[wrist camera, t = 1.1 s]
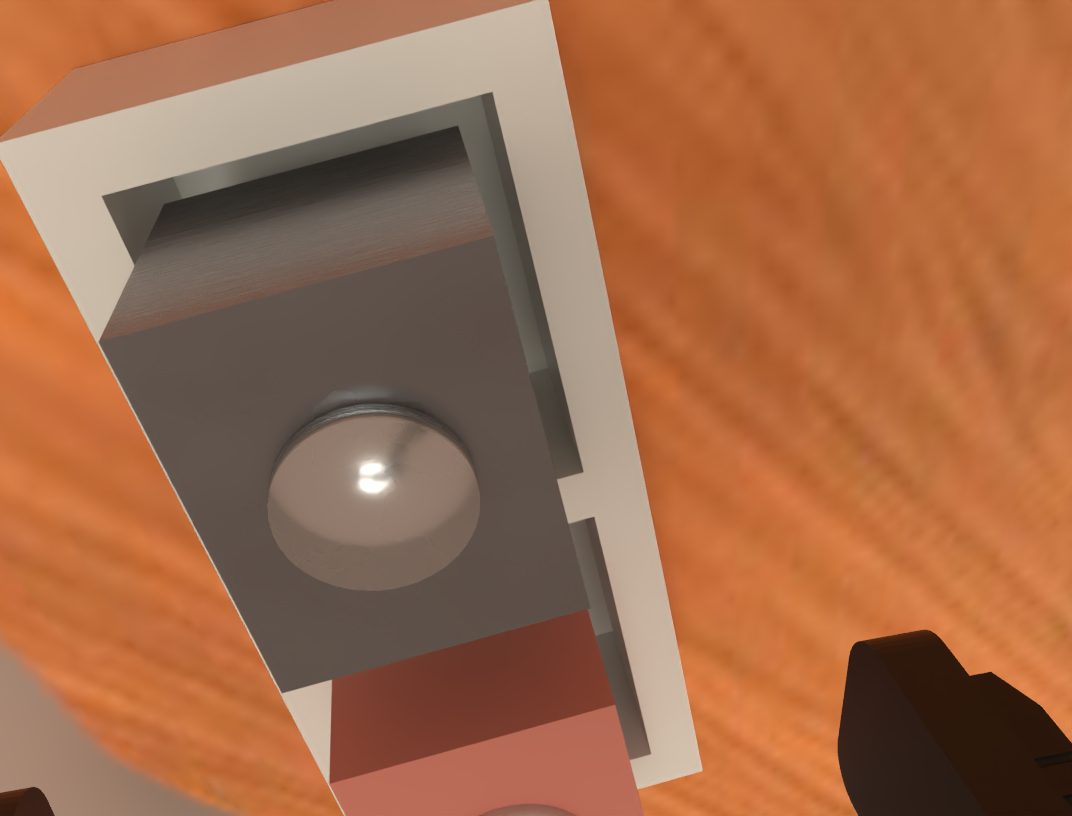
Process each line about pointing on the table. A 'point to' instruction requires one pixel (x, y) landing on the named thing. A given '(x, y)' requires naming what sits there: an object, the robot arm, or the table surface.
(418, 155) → the grey button block
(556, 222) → the frame
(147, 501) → the table surface
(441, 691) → the red button block
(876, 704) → the robot arm
